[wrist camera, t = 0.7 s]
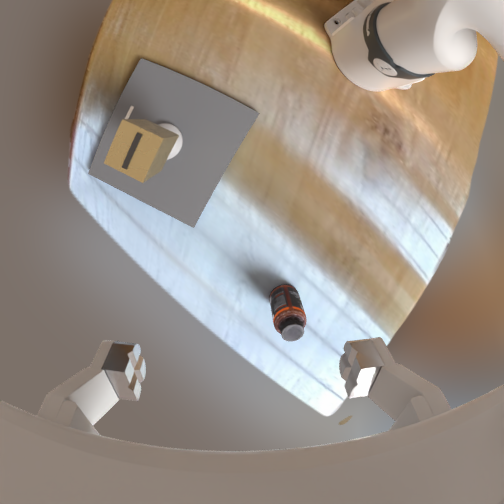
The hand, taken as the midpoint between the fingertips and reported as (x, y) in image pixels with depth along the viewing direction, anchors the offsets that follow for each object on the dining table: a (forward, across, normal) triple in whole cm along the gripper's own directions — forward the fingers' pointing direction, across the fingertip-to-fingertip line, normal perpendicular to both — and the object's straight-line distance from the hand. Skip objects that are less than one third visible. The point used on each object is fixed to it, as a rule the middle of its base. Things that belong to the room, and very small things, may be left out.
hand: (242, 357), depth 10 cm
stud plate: (+39, +12, -6) cm, 42 cm away
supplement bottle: (+40, -9, +24) cm, 47 cm away
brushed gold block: (+31, +12, -6) cm, 34 cm away
